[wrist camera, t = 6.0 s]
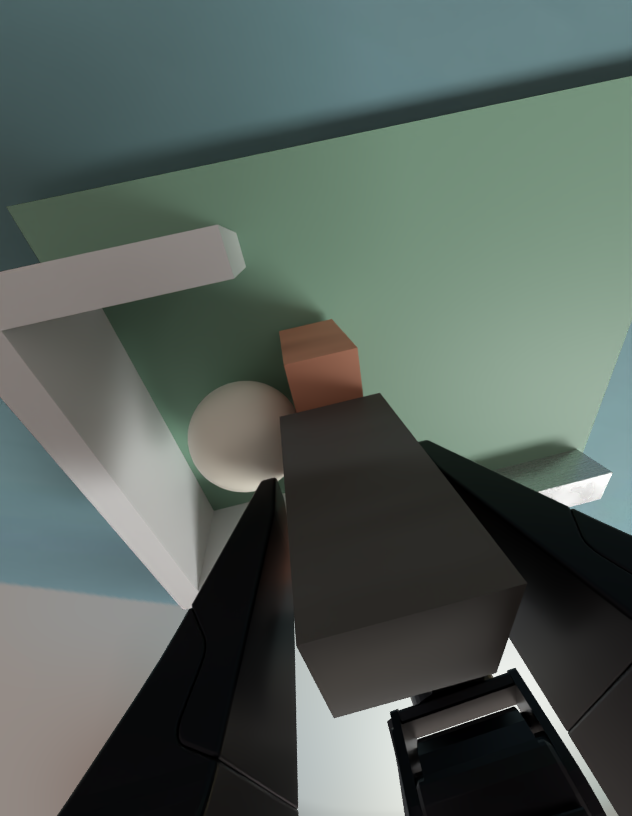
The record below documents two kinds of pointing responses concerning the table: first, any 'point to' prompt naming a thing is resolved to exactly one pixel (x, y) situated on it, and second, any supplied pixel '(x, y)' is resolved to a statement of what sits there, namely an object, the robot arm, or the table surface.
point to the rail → (562, 477)
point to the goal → (115, 394)
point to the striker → (380, 543)
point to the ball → (239, 435)
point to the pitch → (397, 270)
